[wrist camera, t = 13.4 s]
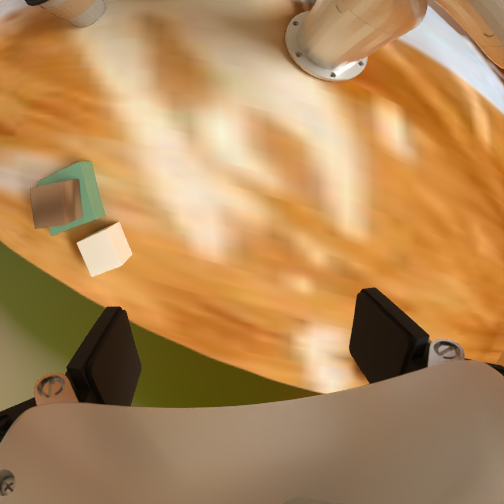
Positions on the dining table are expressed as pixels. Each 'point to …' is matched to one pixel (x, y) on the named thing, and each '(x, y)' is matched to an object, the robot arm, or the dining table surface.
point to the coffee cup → (73, 10)
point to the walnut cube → (56, 203)
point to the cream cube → (105, 249)
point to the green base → (88, 191)
